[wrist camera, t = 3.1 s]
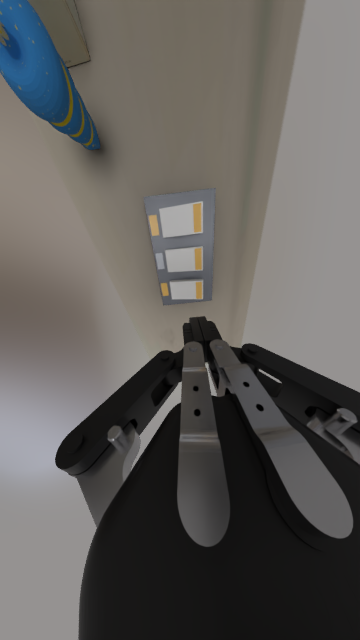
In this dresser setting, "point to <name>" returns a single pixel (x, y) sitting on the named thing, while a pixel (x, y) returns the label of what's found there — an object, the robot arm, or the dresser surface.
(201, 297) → the rocker outer
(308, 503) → the robot arm
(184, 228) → the rocker inner
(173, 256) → the rocker middle
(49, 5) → the skincare box
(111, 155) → the dresser surface
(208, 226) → the switch unit
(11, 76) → the ornament
